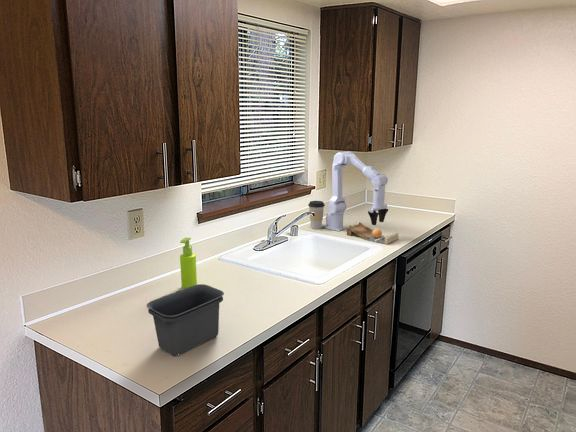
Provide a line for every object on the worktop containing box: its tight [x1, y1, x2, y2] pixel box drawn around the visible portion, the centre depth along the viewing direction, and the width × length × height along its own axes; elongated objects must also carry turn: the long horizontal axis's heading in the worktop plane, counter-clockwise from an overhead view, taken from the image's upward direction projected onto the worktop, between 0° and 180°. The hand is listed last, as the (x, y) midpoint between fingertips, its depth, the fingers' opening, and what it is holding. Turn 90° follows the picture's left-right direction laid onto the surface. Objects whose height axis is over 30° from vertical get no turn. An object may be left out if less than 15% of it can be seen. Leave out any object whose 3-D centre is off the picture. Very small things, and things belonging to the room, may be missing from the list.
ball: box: [372, 228, 383, 238], centre depth 245 cm, size 5×5×5 cm
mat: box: [363, 232, 399, 246], centre depth 244 cm, size 14×12×3 cm
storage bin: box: [146, 283, 225, 357], centre depth 140 cm, size 21×16×14 cm
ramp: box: [346, 222, 374, 240], centre depth 251 cm, size 14×10×7 cm
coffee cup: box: [307, 200, 326, 230], centre depth 265 cm, size 9×9×15 cm
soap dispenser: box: [179, 237, 198, 290], centre depth 179 cm, size 6×7×20 cm
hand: (377, 223), depth 244 cm, fingers open, 7 cm apart
